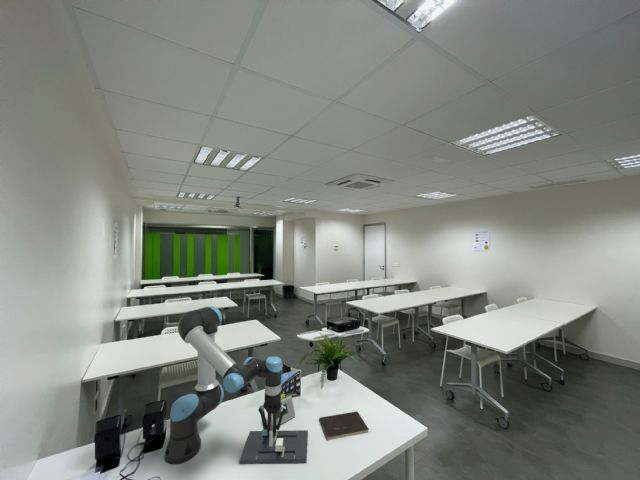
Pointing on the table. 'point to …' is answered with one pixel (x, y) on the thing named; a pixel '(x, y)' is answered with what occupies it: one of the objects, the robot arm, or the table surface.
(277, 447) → the fader near
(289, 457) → the plate
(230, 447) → the table surface
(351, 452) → the table surface
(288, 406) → the digital clock
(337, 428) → the hardcover book
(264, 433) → the fader far
